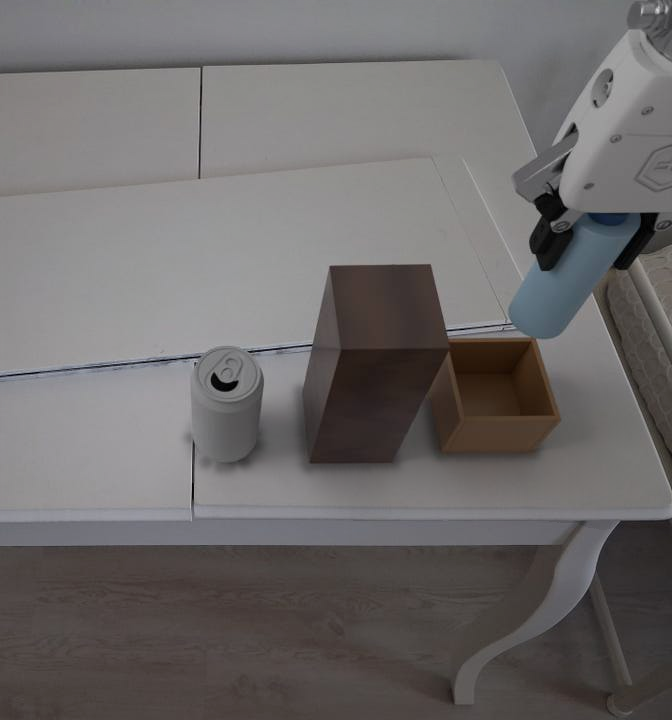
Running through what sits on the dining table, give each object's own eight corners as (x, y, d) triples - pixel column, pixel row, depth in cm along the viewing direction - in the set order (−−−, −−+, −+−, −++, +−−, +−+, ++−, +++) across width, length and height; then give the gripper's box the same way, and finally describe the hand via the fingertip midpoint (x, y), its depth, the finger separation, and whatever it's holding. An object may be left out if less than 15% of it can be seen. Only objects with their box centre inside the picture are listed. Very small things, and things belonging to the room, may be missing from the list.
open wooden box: (511, 372, 75) (535, 336, 69) (534, 451, 70) (561, 420, 64) (424, 373, 75) (441, 338, 69) (440, 452, 70) (460, 421, 64)
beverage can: (182, 452, 70) (178, 391, 60) (206, 399, 74) (206, 332, 64) (244, 475, 69) (250, 415, 59) (265, 419, 72) (275, 354, 62)
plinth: (380, 391, 74) (430, 263, 57) (392, 462, 69) (450, 348, 53) (302, 392, 74) (329, 265, 57) (309, 463, 70) (340, 349, 53)
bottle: (568, 302, 60) (650, 186, 49) (563, 346, 57) (648, 234, 46) (511, 288, 61) (578, 170, 50) (504, 330, 58) (573, 217, 47)
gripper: (586, 71, 35) (471, 298, 51) (937, 65, 35) (714, 295, 50) (545, -16, 39) (450, 219, 55) (860, -21, 39) (675, 216, 54)
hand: (578, 254), depth 52 cm, fingers closed on bottle, 4 cm apart
